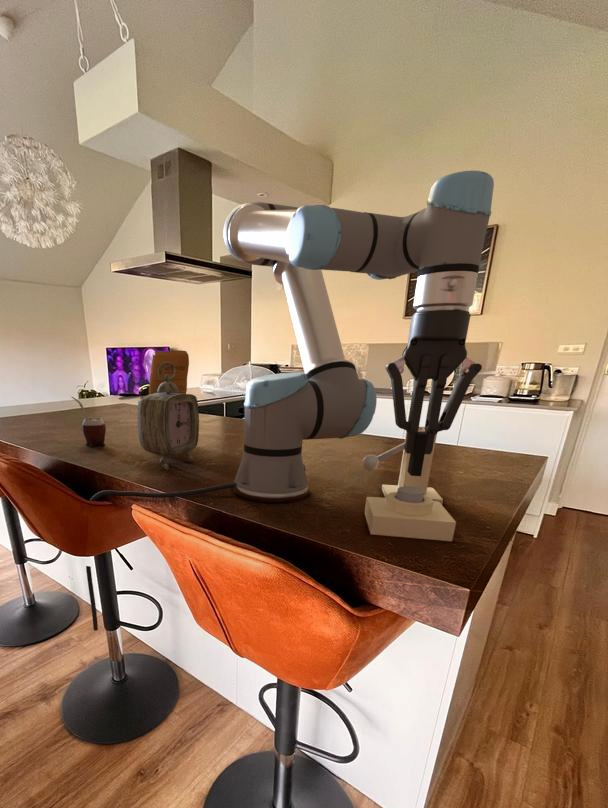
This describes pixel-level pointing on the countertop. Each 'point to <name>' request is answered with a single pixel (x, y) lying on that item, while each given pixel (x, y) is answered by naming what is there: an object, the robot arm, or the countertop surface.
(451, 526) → the cream rectangular base
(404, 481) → the bracket
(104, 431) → the mate gourd
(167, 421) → the tabletop clock
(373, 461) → the flush lever
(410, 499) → the grey round button
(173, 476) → the countertop surface
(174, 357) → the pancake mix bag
